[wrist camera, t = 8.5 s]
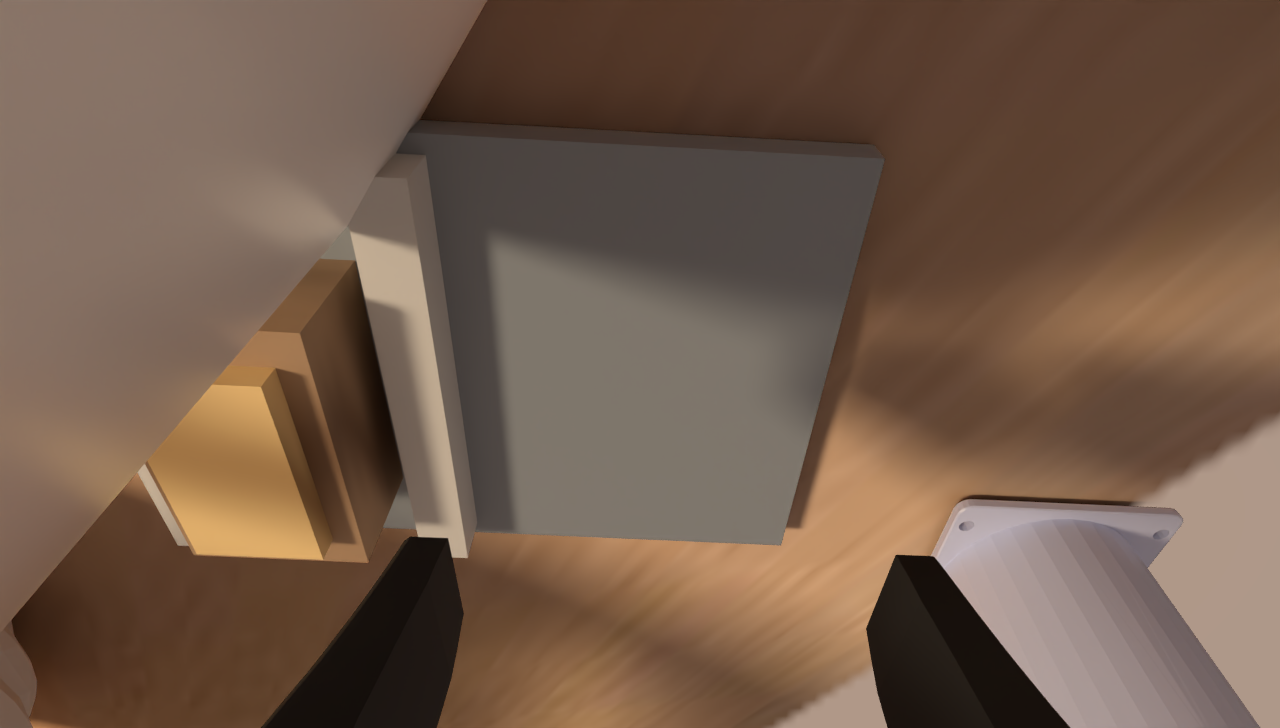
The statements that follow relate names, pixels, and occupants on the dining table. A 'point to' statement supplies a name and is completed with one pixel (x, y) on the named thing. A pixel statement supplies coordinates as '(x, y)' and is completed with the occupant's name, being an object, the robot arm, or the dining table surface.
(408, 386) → the board
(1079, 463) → the dining table surface
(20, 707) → the table lamp
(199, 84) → the gable box
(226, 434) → the wooden box
